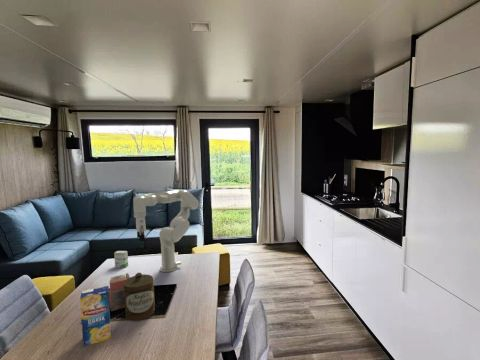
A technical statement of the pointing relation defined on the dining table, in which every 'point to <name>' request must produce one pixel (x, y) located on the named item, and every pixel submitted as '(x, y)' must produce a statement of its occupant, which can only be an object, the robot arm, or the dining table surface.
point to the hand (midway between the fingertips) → (141, 239)
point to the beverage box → (95, 315)
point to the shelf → (118, 296)
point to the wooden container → (139, 297)
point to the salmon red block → (116, 286)
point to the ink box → (121, 259)
